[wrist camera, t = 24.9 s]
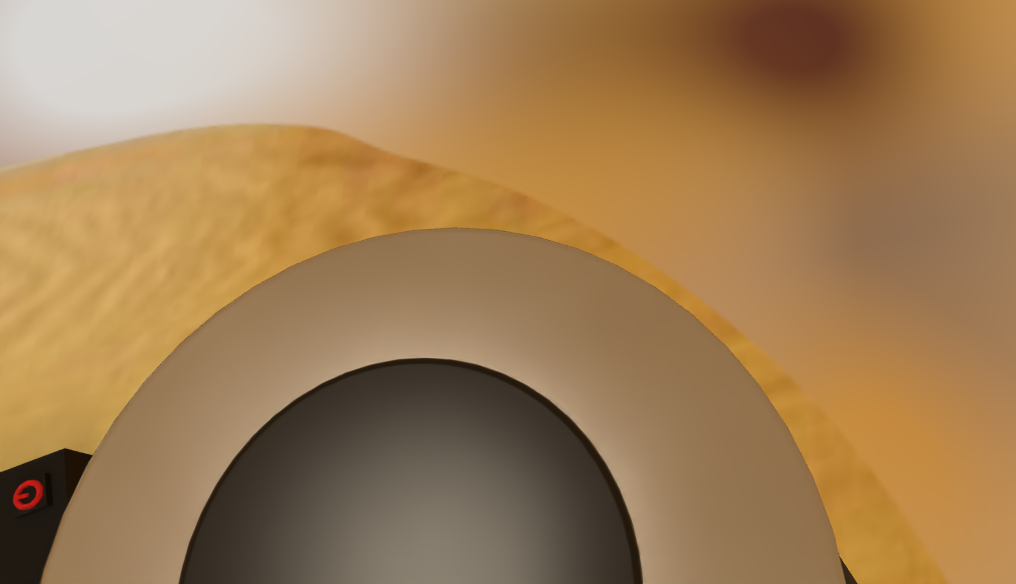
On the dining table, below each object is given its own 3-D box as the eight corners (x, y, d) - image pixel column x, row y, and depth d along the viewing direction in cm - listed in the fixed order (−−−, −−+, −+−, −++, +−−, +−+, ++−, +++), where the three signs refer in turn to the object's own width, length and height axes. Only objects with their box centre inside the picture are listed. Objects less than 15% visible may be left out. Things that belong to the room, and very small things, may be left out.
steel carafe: (646, 458, 16) (888, 205, 5) (628, 760, 13) (1062, 1682, 2) (404, 422, 16) (137, 130, 5) (342, 703, 14) (-395, 1202, 3)
